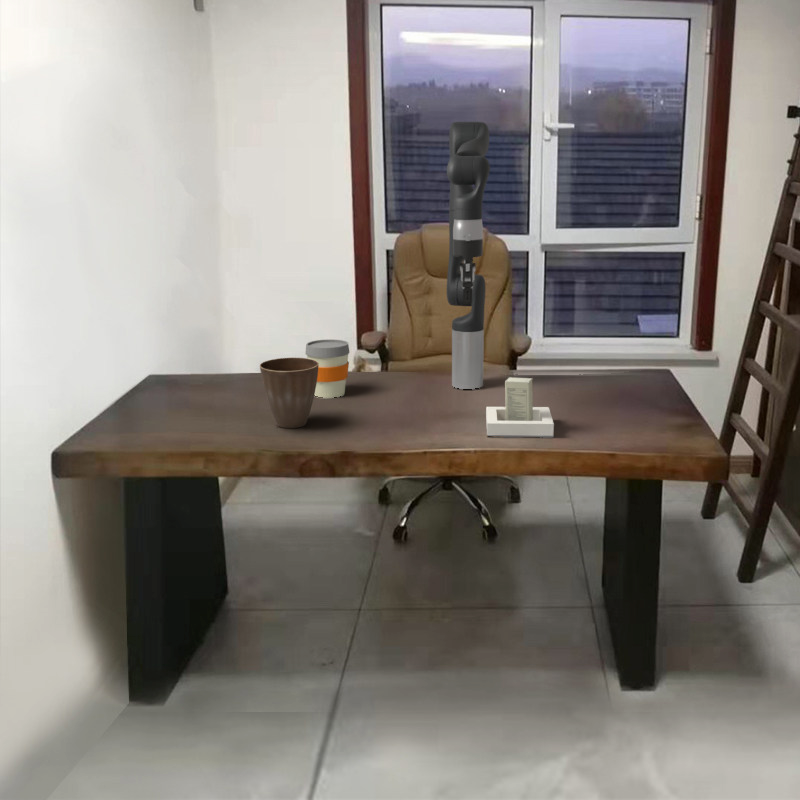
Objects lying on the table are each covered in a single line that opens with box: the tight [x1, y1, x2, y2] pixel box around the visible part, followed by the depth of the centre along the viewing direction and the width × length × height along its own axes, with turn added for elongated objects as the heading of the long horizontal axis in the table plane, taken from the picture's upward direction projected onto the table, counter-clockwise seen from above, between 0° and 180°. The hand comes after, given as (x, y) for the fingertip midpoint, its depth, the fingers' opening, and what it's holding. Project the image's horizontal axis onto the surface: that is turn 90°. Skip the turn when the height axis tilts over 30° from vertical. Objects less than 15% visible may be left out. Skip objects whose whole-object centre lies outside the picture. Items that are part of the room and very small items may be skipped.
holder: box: [485, 406, 555, 439], centre depth 226 cm, size 15×16×4 cm
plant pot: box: [259, 357, 319, 429], centre depth 231 cm, size 15×15×16 cm
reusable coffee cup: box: [305, 339, 350, 399], centre depth 260 cm, size 13×13×15 cm
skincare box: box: [504, 376, 534, 421], centre depth 225 cm, size 6×4×12 cm
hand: (467, 300), depth 233 cm, fingers open, 8 cm apart
